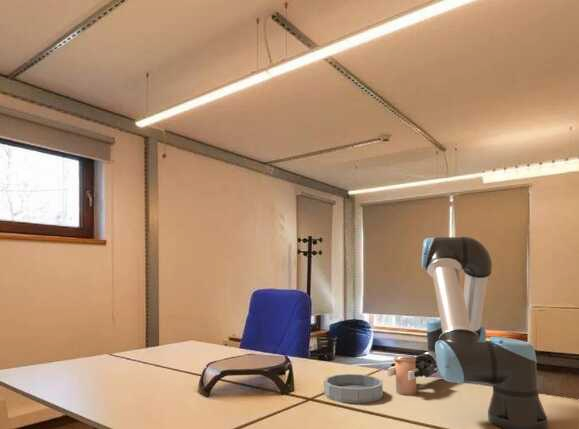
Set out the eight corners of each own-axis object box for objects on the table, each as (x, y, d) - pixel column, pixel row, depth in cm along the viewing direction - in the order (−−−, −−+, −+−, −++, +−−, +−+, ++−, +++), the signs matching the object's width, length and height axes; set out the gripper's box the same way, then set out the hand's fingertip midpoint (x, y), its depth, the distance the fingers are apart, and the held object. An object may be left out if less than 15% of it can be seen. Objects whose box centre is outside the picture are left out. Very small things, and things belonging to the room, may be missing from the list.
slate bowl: (381, 405, 137) (381, 390, 138) (320, 401, 142) (320, 386, 143) (383, 388, 156) (383, 375, 157) (329, 385, 161) (329, 372, 162)
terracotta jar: (417, 395, 147) (416, 359, 149) (395, 394, 149) (394, 358, 150) (417, 389, 154) (415, 354, 156) (395, 388, 156) (394, 353, 158)
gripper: (453, 377, 159) (426, 390, 142) (404, 369, 172) (374, 380, 155) (452, 356, 160) (425, 367, 143) (403, 350, 173) (373, 359, 156)
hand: (398, 374), depth 149 cm, fingers closed on terracotta jar, 7 cm apart
